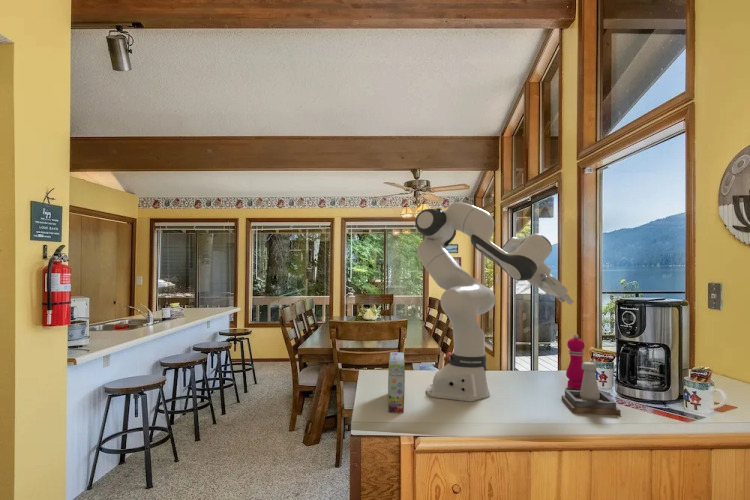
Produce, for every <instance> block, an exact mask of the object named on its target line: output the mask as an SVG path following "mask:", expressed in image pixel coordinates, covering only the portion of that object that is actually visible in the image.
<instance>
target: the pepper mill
mask: <svg viewBox="0 0 750 500" xmlns="http://www.w3.org/2000/svg"><path fill="white" fill-rule="evenodd" d="M567 347H568V349H569V350H568V352H569V353H568V354H569V355H570V357H569V358H570V359H569V364H568V366H567V369H566V373H565V376H566V378H567V379H568V380H567V387H569V388H571V389H579V390H581V385H582V380H583V375H584V370H583V369H582V363H583V356H584V351H583V350H584V349H585V342H584V341H583V339H581V338H579V335H578V334H577V333H574V334H573V336H572V338H569V339H568V341H567Z"/></svg>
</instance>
